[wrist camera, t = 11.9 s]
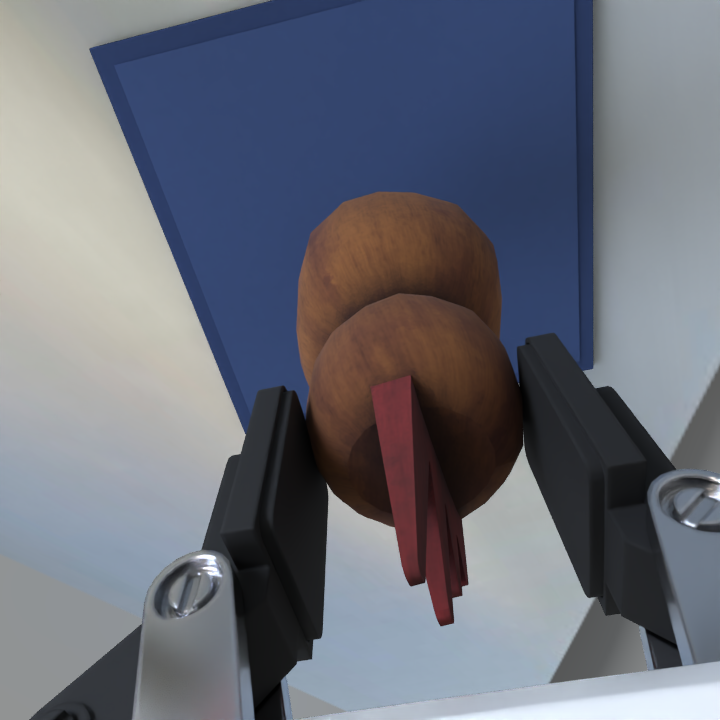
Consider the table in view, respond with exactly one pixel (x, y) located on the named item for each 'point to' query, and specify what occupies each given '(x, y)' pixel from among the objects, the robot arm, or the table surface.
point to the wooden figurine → (409, 375)
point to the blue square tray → (362, 153)
